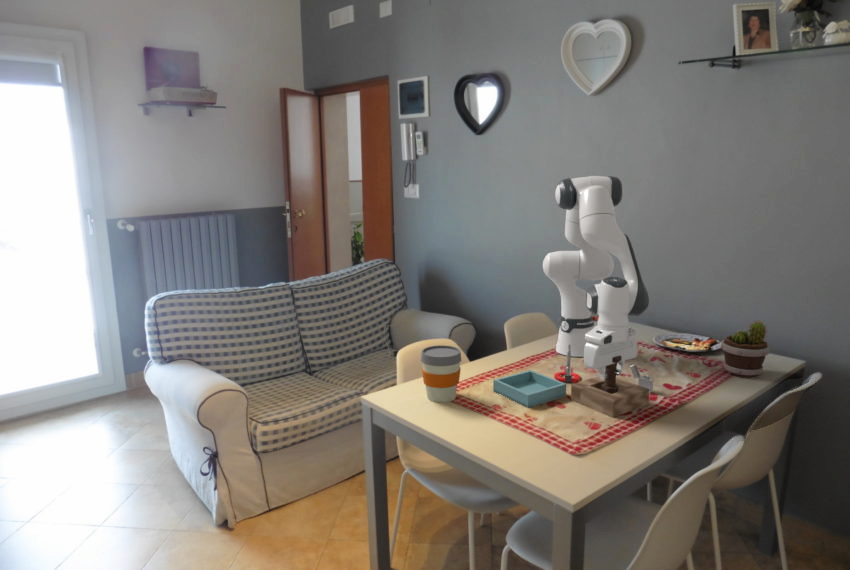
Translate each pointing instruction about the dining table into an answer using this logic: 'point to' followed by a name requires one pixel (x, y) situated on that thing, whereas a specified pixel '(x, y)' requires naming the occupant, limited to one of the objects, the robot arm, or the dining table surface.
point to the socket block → (610, 396)
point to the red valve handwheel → (568, 371)
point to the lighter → (642, 378)
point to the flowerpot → (746, 351)
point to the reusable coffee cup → (441, 372)
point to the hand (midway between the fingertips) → (610, 376)
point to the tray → (529, 388)
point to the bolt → (611, 377)
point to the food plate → (685, 345)
